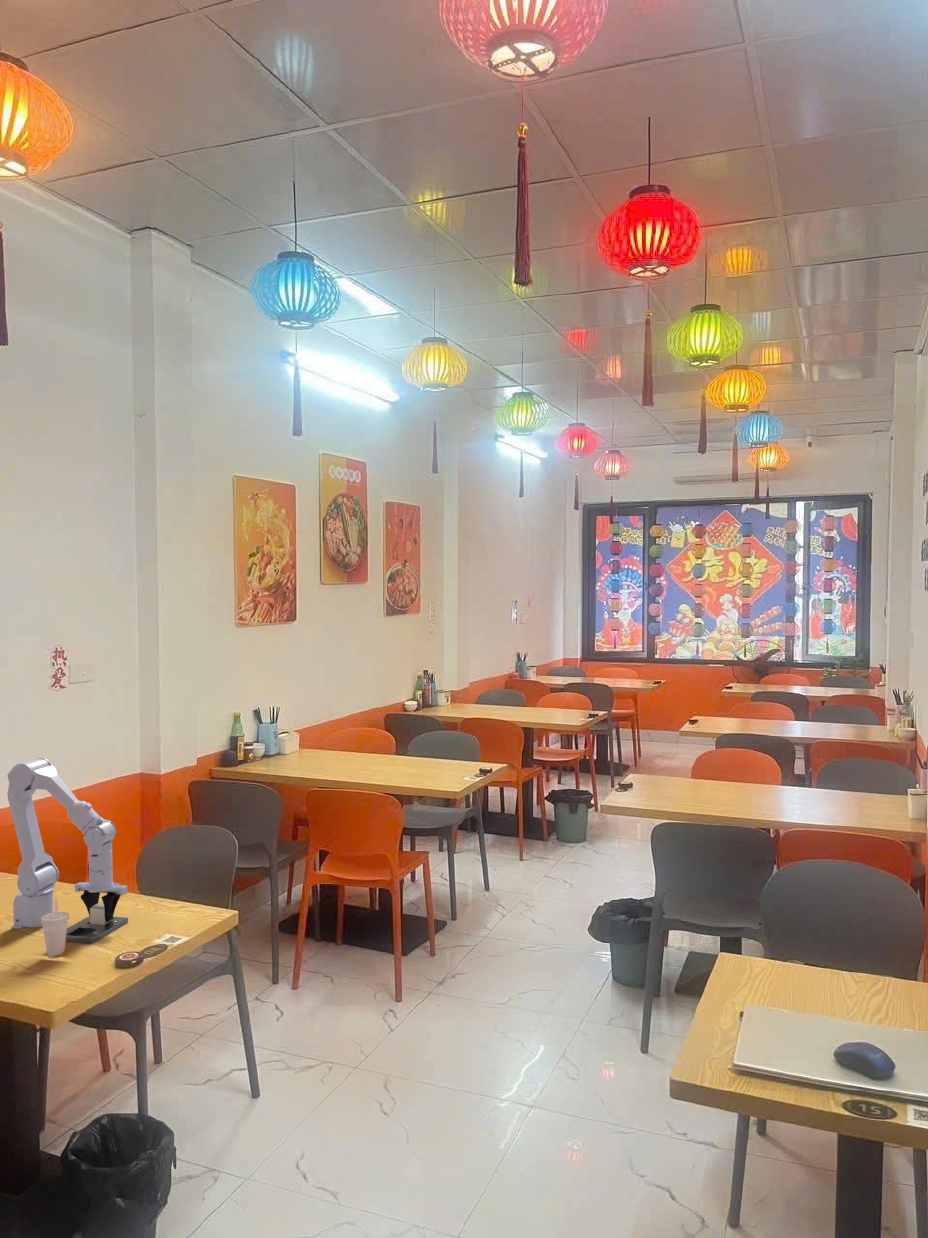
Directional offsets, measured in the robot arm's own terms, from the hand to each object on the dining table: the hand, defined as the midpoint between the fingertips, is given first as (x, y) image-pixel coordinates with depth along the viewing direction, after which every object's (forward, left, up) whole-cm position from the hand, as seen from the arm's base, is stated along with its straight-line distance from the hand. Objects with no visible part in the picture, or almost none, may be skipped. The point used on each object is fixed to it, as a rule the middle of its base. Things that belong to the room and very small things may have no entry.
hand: (101, 919), depth 231 cm
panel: (0, -4, -2) cm, 5 cm away
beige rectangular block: (0, 0, -2) cm, 2 cm away
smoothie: (0, -18, -2) cm, 18 cm away
